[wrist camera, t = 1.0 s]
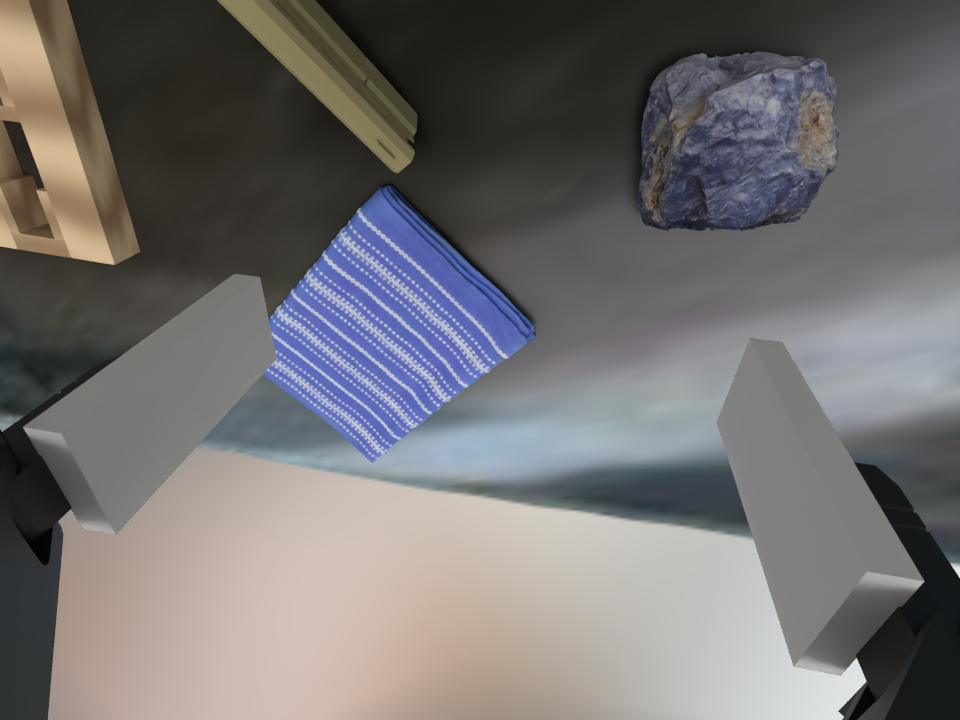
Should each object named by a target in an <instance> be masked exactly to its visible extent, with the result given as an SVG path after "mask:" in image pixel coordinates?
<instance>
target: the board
mask: <svg viewBox="0 0 960 720" xmlns="http://www.w3.org/2000/svg"><path fill="white" fill-rule="evenodd" d="M3 120H6V121H14V122H21V125H22V127H23V130H24V133H25V135H26V138H27V141H28V143H29V146H30V149H31V151H32V154H33V157H34V160H35V162H36V165H37V168H38V170H39V173H40V176H41V178H42V181H43V184H44V186H45V188H42V189H38V187H37V184H36V182H35V179H34V176H32V175H26V174H23V172H22V169H21V166H20V164H19V161H18V159H17V156H16V154H15V151H14V148H13V146H12V143H11V141H10V138H9V136H8V133H7V131H6V128H5V125H4V123H3ZM0 246H1V247H8V248H14V249H20V250H26V251H32V252H39V253H45V254H51V255H57V256H63V257H70V258H76V259H82V260H88V261H94V262H100V263H107V264H113V265H115V264H117V263H119V262H121V261H123V260H125V259H127V258H129V257H131V256H133V255H135V254H137V253H139V252H140V249H139V245H138V242H137V238H136V235H135V232H134V228H133V225H132V221H131V218H130V215H129V211H128V208H127V204H126V201H125V197H124V194H123V191H122V187H121V184H120V180H119V177H118V173H117V170H116V167H115V163H114V160H113V156H112V153H111V149H110V146H109V143H108V139H107V136H106V132H105V129H104V125H103V122H102V119H101V115H100V112H99V108H98V105H97V101H96V98H95V95H94V91H93V88H92V84H91V81H90V78H89V74H88V71H87V67H86V64H85V60H84V57H83V54H82V50H81V47H80V43H79V40H78V36H77V33H76V30H75V26H74V23H73V19H72V16H71V12H70V9H69V6H68V2H67V0H0Z"/></svg>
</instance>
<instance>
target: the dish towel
mask: <svg viewBox="0 0 960 720" xmlns="http://www.w3.org/2000/svg"><path fill="white" fill-rule="evenodd" d="M269 323H270V328H271V333H272V338H273V343H274V348H275V352H276V357H277V359H276V360H275V361H274V363H273V364H272V365H271V366H270V367H269V368H268V369H267V370H266V371H265V372H264V373H263V375H265V376H266V377H267V378H269V379H270V380H271V381H273V382H274V383H276V384H277V385H278V386H280V387H281V388H282V389H284V390H285V391H286V392H288V393H289V394H290V395H292V396H293V397H294V398H296V399H297V400H298V401H299V402H301V403H302V404H303V405H305V406H306V407H307V408H308V409H310V410H311V411H312V412H314V413H315V414H317V415H318V416H320V417H321V418H322V419H323V420H325V421H326V422H328V423H329V424H330V425H331V426H332V427H334V428H335V429H336V430H337V431H338V432H339V433H340V434H341V435H342V436H343V437H345V438H346V439H347V440H348V441H349V442H350V443H351V444H352V445H353V446H355V447H356V448H357V449H358V450H359V451H360V452H361V453H362V454H364V455H365V457H366V458H367V459H369V460H370V461H371V462H374V461H375V460H376V459H377V458H379V457H380V456H381V455H382V454H384V453H386V451H387V450H388V449H389V448H390V447H392V446H393V445H394V444H395V443H396V442H397V441H398V440H400V439H402V438H403V437H404V436H405V435H407V434H408V433H409V432H410V431H411V430H412V429H414V428H416V427H417V426H418V425H420V424H421V423H422V422H424V421H425V420H426V419H427V418H428V417H430V416H431V415H432V414H433V413H435V412H436V411H437V410H439V409H440V408H441V407H442V406H443V405H444V404H446V403H447V402H449V401H450V400H451V399H452V398H454V397H455V396H457V395H458V394H459V393H460V392H461V391H462V390H463V389H465V388H467V387H468V386H470V385H471V384H472V383H474V382H475V381H476V380H477V379H478V378H480V377H481V376H482V375H484V374H486V373H488V372H489V371H490V370H491V369H492V368H493V367H495V366H496V365H497V364H499V363H500V362H501V361H503V360H505V359H507V358H509V357H510V356H511V355H512V354H514V353H515V352H517V351H518V350H519V349H521V348H522V347H523V346H524V345H525V344H526V343H528V342H529V341H531V340H532V339H534V338H535V337H536V334H535V332H534V326H533V325H532V323H531V322H530V321H529V320H528V319H527V318H526V317H525V316H524V315H523V314H522V313H521V312H520V311H519V310H518V309H517V308H516V307H515V306H514V305H513V304H512V303H511V302H510V301H509V300H508V299H507V297H506V296H505V295H504V294H503V293H502V292H501V291H500V290H499V289H498V288H496V287H495V286H494V285H493V284H492V283H491V282H490V281H489V280H488V279H486V278H485V277H484V276H483V275H482V274H481V273H480V272H478V271H477V270H476V269H475V268H474V267H472V266H471V265H470V264H469V263H468V262H467V261H466V260H465V259H464V258H463V257H462V256H461V255H460V254H459V253H458V252H457V251H456V250H455V249H454V248H453V247H452V246H451V245H450V244H449V243H448V242H447V241H446V240H445V239H444V238H443V237H442V236H441V234H440V233H439V232H438V231H437V230H436V229H435V228H434V227H433V226H432V225H430V224H429V223H428V222H427V221H426V220H425V219H424V218H423V217H422V216H421V215H420V214H419V213H418V212H417V211H416V210H415V209H414V208H413V207H412V206H411V205H410V204H409V203H408V202H407V201H406V200H405V199H404V198H403V197H402V196H401V194H400V193H399V192H397V191H396V190H395V189H394V188H393V187H392V186H391V185H388V186H385V187H384V186H383V187H380V188H379V189H378V190H377V191H376V192H375V193H374V194H373V195H372V196H371V197H370V198H369V199H368V200H367V201H366V203H365V204H364V205H363V206H361V207H360V208H359V209H358V210H357V212H356V213H355V214H354V216H353V217H352V218H351V220H350V221H349V222H348V224H347V225H346V226H345V227H344V228H343V229H341V230H340V232H339V234H338V235H337V236H336V237H335V238H334V239H333V240H332V242H331V244H330V245H329V246H328V248H327V249H326V250H324V252H323V254H322V255H321V256H320V258H319V259H318V260H317V261H316V262H315V264H314V265H313V266H312V267H311V268H310V269H309V270H308V271H307V273H306V274H305V276H304V277H303V278H302V279H301V280H300V282H299V283H298V284H297V285H296V287H294V288H293V289H292V290H291V292H290V294H289V295H288V297H287V298H286V299H285V300H284V302H283V303H282V304H281V305H279V306H278V307H277V309H276V311H275V312H274V313H273V314H272V315H271V317H270V318H269Z"/></svg>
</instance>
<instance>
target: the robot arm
mask: <svg viewBox="0 0 960 720" xmlns="http://www.w3.org/2000/svg"><path fill="white" fill-rule="evenodd" d="M276 359H277V357H276V352H275V348H274V343H273V338H272V333H271V328H270V323H269V319H268V314H267V309H266V304H265V299H264V295H263V290H262V285H261V280H260V277H255V276H247V275H238V274H234V275H232V276H231V277H230V278H228V279H227V280H226V281H224V282H223V283H221V284H220V285H219V286H217V287H216V288H214V289H213V290H212V291H210V292H209V293H208V294H206V295H205V296H203V297H202V298H201V299H199V300H198V301H196V302H195V303H194V304H192V305H191V306H190V307H188V308H187V309H185V310H184V311H183V312H181V313H180V314H178V315H177V316H176V317H174V318H173V319H172V320H170V321H169V322H167V323H166V324H165V325H163V326H162V327H161V328H159V329H158V330H156V331H155V332H154V333H152V334H151V335H149V336H148V337H147V338H145V339H144V340H143V341H141V342H140V343H138V344H137V345H136V346H134V347H133V348H131V349H130V350H129V351H127V352H126V353H125V354H123V355H120V356H117V357H115V358H113V359H111V360H108V361H106V362H104V363H101V364H99V365H97V366H95V367H94V368H92V369H91V370H89V371H88V372H87V373H85V374H84V375H82V376H81V377H79V378H78V379H77V382H76V383H75V382H72V383H71V384H70V385H68V386H67V387H65V388H64V389H62V390H61V393H60V394H55V395H54V396H53V397H51V398H50V399H48V400H47V401H45V402H44V403H43V404H41V405H40V406H38V407H37V408H36V409H34V410H33V411H31V412H30V413H28V414H27V415H26V416H24V417H23V418H21V419H20V420H19V421H17V422H16V423H14V424H13V425H11V426H10V427H9V428H7V429H6V430H4V431H3V432H2V431H1V430H0V720H48V708H49V697H50V684H51V673H52V662H53V650H54V638H55V627H56V615H57V602H58V590H59V579H60V568H61V567H60V566H61V555H62V544H63V532H62V528H61V526H60V524H59V523H58V521H59V520H60V519H61V518H62V517H63V516H64V515H65V514H66V513H67V512H68V511H69V510H70V509H71V510H72V511H73V513H74V515H75V516H76V518H77V520H78V522H79V523H80V525H81V526H82V528H84V529H89V530H94V531H99V532H105V533H109V534H114V535H116V534H117V533H118V532H119V531H120V530H121V529H122V527H123V526H124V525H125V524H126V523H127V522H128V521H129V520H130V519H131V518H132V517H133V515H134V514H135V513H136V512H137V511H138V510H139V509H140V508H141V507H142V506H143V505H144V503H145V502H146V501H147V500H148V499H149V498H150V497H151V496H152V495H153V494H154V493H155V491H156V490H157V489H158V488H159V487H160V486H161V485H162V484H163V483H164V482H165V480H166V479H167V478H168V477H169V476H170V475H171V474H172V473H173V472H174V471H175V470H176V469H177V467H178V466H179V465H180V464H181V463H182V462H183V461H184V460H185V459H186V458H187V456H188V455H189V454H190V453H191V452H192V451H193V450H194V449H195V448H196V447H197V446H198V444H199V443H200V442H201V441H202V440H203V439H204V438H205V437H206V436H207V435H208V434H209V432H210V431H211V430H212V429H213V428H214V427H215V426H216V425H217V424H218V423H219V422H220V420H221V419H222V418H223V417H224V416H225V415H226V414H227V413H228V412H229V411H230V410H231V408H232V407H233V406H234V405H235V404H236V403H237V402H238V401H239V400H240V399H241V398H242V396H243V395H244V394H245V393H246V392H247V391H248V390H249V389H250V388H251V387H252V385H253V384H254V383H255V382H256V381H257V380H258V379H259V378H260V377H261V376H262V375H263V373H264V372H265V371H266V370H267V369H268V368H269V367H270V366H271V365H272V364H273V363H274V361H275V360H276ZM717 424H718V428H719V431H720V434H721V437H722V440H723V443H724V447H725V450H726V453H727V456H728V459H729V463H730V466H731V469H732V472H733V475H734V478H735V482H736V485H737V488H738V491H739V494H740V497H741V501H742V504H743V507H744V510H745V513H746V517H747V520H748V523H749V526H750V529H751V532H752V536H753V539H754V542H755V545H756V548H757V551H758V555H759V558H760V561H761V564H762V567H763V570H764V574H765V577H766V580H767V583H768V586H769V589H770V593H771V596H772V599H773V602H774V605H775V609H776V612H777V615H778V618H779V621H780V625H781V628H782V631H783V634H784V637H785V641H786V643H787V647H788V650H789V653H790V656H791V659H792V663H793V666H794V667H799V668H804V669H809V670H814V671H819V672H824V673H829V674H835V675H842V673H843V672H844V671H845V670H846V669H847V668H848V667H849V666H850V664H851V663H852V662H853V661H854V660H855V659H856V658H857V659H858V662H859V664H860V666H861V669H862V671H863V673H864V676H865V678H866V681H867V682H866V683H865V684H864V685H863V686H862V687H861V688H860V689H859V690H858V691H857V693H855V695H854V696H853V697H852V698H851V699H850V700H849V701H848V702H847V703H846V704H845V705H844V706H843V707H842V708H841V709H840V710H839V711H838V712H840V713H841V714H842V715H843V716H844V718H843V720H960V578H959V577H958V575H957V573H956V572H955V570H954V569H953V567H952V566H951V564H950V563H949V561H948V560H947V558H946V557H945V555H944V554H943V552H942V551H941V549H940V548H939V546H938V545H937V543H936V542H935V540H934V539H933V537H932V536H931V534H930V532H926V526H925V525H924V523H923V522H922V520H921V519H920V517H919V516H918V514H917V513H914V512H913V510H914V508H913V507H912V505H911V504H910V502H909V501H908V499H907V498H906V496H905V495H904V493H903V492H902V490H901V489H900V487H899V486H898V485H897V484H896V483H895V482H893V481H892V480H891V479H890V478H889V477H888V476H887V475H885V474H884V473H883V472H882V471H881V470H880V469H879V468H877V467H876V466H874V465H868V464H861V463H854V462H853V460H852V459H851V457H850V455H849V454H848V452H847V450H846V448H845V447H844V445H843V443H842V442H841V440H840V438H839V437H838V435H837V433H836V432H835V430H834V428H833V427H832V425H831V423H830V422H829V420H828V418H827V416H826V415H825V413H824V411H823V410H822V408H821V406H820V405H819V403H818V401H817V400H816V398H815V396H814V395H813V393H812V391H811V390H810V388H809V386H808V384H807V383H806V381H805V379H804V378H803V376H802V374H801V373H800V371H799V369H798V368H797V366H796V364H795V363H794V361H793V359H792V358H791V356H790V354H789V353H788V351H787V349H786V347H785V346H784V344H783V342H777V341H769V340H761V339H753V338H750V340H749V342H748V345H747V347H746V350H745V352H744V355H743V357H742V360H741V362H740V365H739V367H738V370H737V372H736V375H735V377H734V380H733V382H732V385H731V388H730V390H729V393H728V395H727V398H726V400H725V403H724V405H723V408H722V410H721V413H720V415H719V418H718V420H717Z"/></svg>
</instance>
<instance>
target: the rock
mask: <svg viewBox="0 0 960 720" xmlns="http://www.w3.org/2000/svg"><path fill="white" fill-rule="evenodd" d="M826 67H827V64H826V63H825V62H824V61H823V60H821V59H818V58H813V59H805V58H804V57H801V56H790V57H784V56H781V55H779V54H773V53H770V52H754V53H752V54H749V53H744V54H742V55H740V54H735V55H732V56H727V57H718V56H717V55H716V57H713V58H708V57H707V56H706V54H703V53H702V54H697V55H692V56H690V57H685V58H682V59H680V60H678V61H677V62H676V63H675V64H673V65H671V66H669V67H667V68H666V69H664V70H663V71H662V72H661V73H660V74H659V75H658V76H657V77H656V79H655V80H654V82H653V84H652V86H651V87H650V92H649V98H648V101H647V106H646V109H645V111H644V117H643V124H642V131H641V146H642V158H641V163H642V176H641V179H640V183H639V191H638V201H637V202H638V209H639V211H640V213H641V218H642V220H643V221H642V222H644V224H645V225H648V226H649V225H650V226H653V227H655V228H658V229H662V230H666V231H669V229H672V228H678V227H679V228H682V229H684V227H685V228H687V229H691V230H692V229H693V230H699V231H702V230H705V229H706V228H710V230H714V229H726V230H727V229H731V230H740V231H743V230H748V229H755V228H756V227H760V226H765V225H770V224H778V223H787V222H795V221H797V220H799V219H800V218H801V215H802V214H804V213H805V212H807V211H808V208H809V206H810V204H811V201H812V200H813V199H814V198H815V196H816V195H817V193H818V190H819V187H820V185H821V184H822V182H823V181H824V180H825V179H826V177H827V176H828V174H830V173H831V172H833V171H834V169H835V167H836V161H837V158H838V155H839V153H838V151H837V138H838V135H839V133H840V131H839V130H838V128H836V127H835V126H834V121H833V118H832V112H833V110H834V105H835V100H836V92H837V88H836V84H835V81H834V79H833V78H832V77H831V76H830V75H829V74H828V72H827V70H826ZM777 219H780V221H778V220H777Z"/></svg>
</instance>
